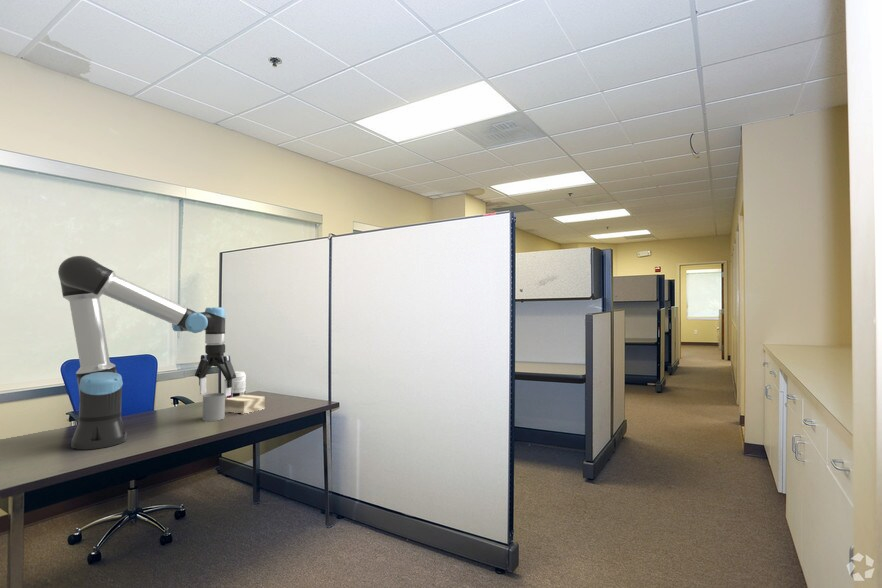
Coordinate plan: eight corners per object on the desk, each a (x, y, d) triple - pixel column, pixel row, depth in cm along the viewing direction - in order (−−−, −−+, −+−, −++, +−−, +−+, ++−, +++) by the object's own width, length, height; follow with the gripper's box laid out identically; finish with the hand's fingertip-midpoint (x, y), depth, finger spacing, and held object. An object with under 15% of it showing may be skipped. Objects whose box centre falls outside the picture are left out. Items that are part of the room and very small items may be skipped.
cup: (218, 421, 185) (218, 397, 185) (198, 421, 185) (198, 396, 186) (228, 416, 194) (228, 393, 194) (209, 416, 194) (209, 392, 194)
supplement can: (223, 404, 217) (224, 373, 218) (232, 401, 226) (232, 370, 226) (240, 404, 217) (240, 373, 217) (248, 401, 225) (248, 370, 226)
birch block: (243, 415, 197) (243, 401, 198) (223, 412, 202) (224, 398, 202) (264, 409, 208) (264, 396, 208) (245, 407, 213) (245, 394, 213)
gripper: (245, 343, 189) (245, 394, 189) (200, 342, 198) (200, 391, 198) (231, 345, 182) (231, 398, 182) (185, 344, 191) (185, 394, 191)
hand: (215, 394), depth 190 cm, fingers open, 13 cm apart
